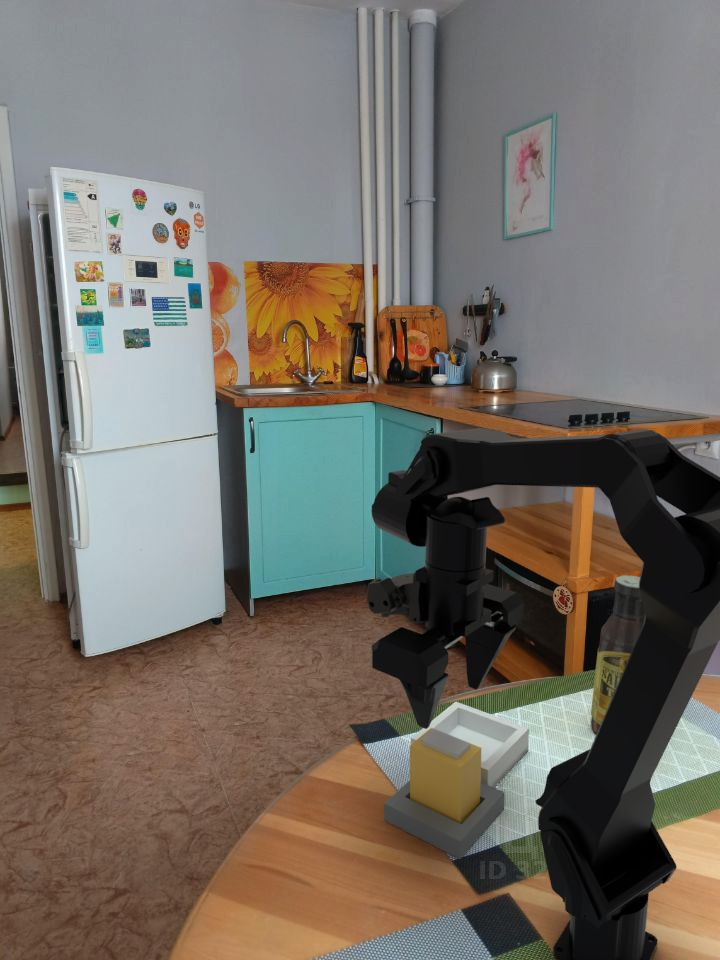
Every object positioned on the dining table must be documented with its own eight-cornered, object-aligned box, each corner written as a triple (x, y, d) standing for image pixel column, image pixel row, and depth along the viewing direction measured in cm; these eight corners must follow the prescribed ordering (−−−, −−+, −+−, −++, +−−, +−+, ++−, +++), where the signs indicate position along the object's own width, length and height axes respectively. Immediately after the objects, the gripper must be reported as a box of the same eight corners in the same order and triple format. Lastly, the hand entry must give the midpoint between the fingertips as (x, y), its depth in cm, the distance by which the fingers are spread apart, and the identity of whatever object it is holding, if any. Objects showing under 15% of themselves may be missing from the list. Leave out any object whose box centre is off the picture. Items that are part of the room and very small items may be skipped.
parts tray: (487, 794, 77) (488, 770, 77) (410, 760, 83) (411, 737, 83) (528, 750, 85) (529, 728, 84) (455, 722, 91) (455, 701, 90)
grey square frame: (460, 859, 68) (460, 841, 68) (384, 820, 74) (384, 803, 73) (503, 809, 75) (504, 792, 75) (431, 776, 81) (431, 760, 80)
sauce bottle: (591, 742, 87) (601, 587, 82) (588, 714, 92) (597, 569, 88) (649, 749, 85) (663, 592, 81) (642, 720, 91) (654, 573, 86)
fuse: (459, 838, 71) (461, 761, 69) (409, 813, 75) (410, 740, 73) (479, 816, 74) (481, 742, 72) (430, 793, 78) (431, 722, 76)
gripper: (439, 521, 80) (435, 647, 84) (326, 568, 66) (327, 717, 70) (530, 542, 73) (521, 679, 77) (425, 600, 59) (420, 763, 63)
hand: (449, 706), depth 72 cm, fingers open, 9 cm apart
